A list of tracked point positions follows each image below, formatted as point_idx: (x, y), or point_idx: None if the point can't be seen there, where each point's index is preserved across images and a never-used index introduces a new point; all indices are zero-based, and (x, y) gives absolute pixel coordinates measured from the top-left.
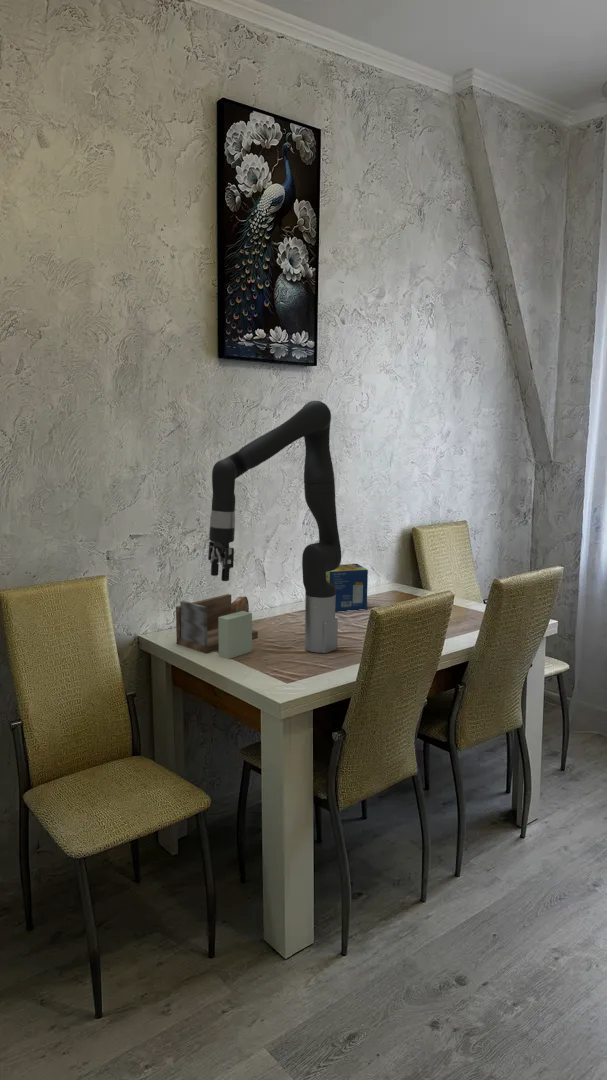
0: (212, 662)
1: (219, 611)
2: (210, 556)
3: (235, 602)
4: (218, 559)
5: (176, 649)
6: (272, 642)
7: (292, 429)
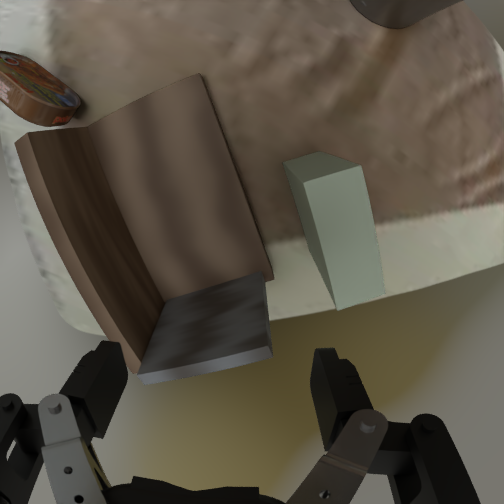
0: None
1: (78, 183)
2: (38, 462)
3: (19, 102)
4: (83, 441)
5: None
6: (272, 58)
7: None
